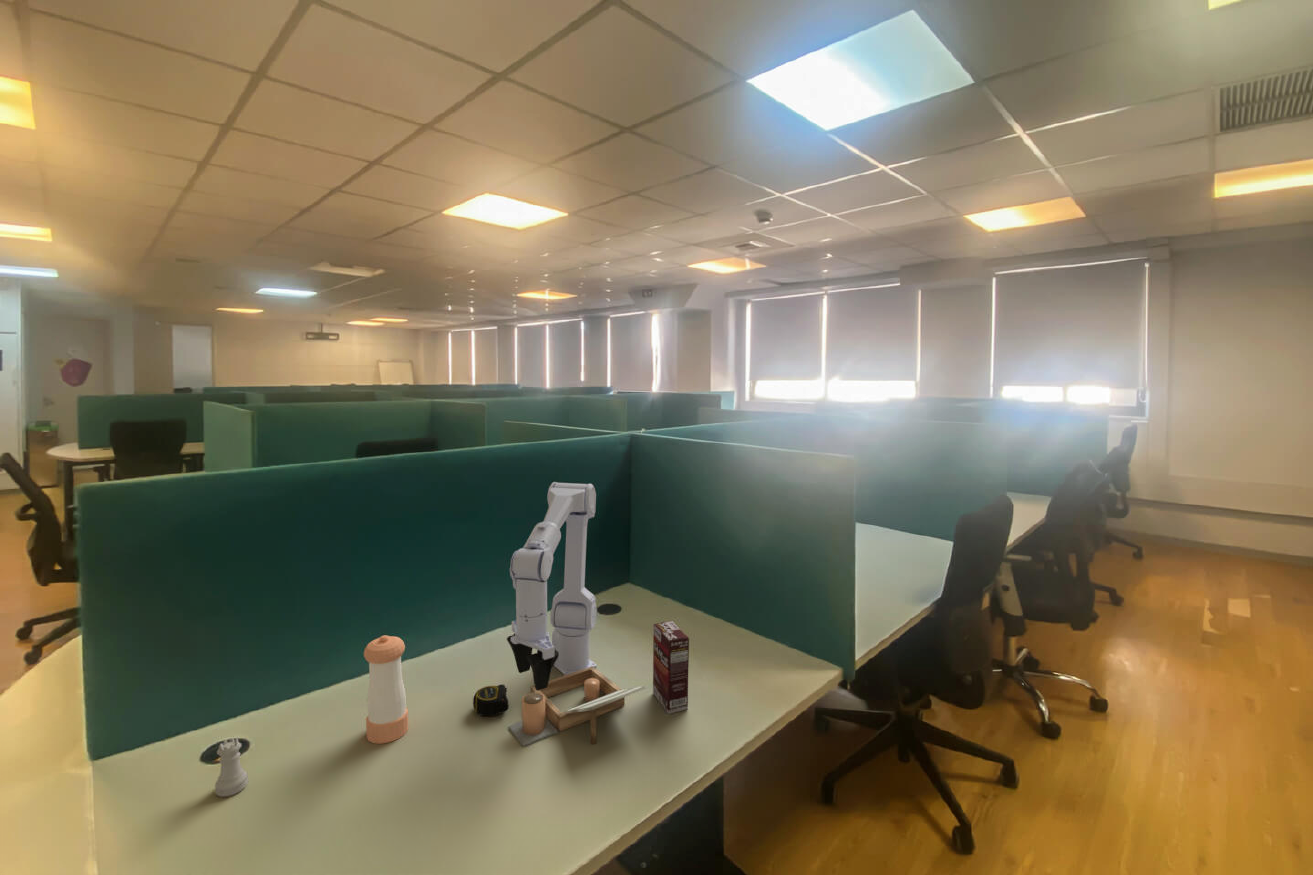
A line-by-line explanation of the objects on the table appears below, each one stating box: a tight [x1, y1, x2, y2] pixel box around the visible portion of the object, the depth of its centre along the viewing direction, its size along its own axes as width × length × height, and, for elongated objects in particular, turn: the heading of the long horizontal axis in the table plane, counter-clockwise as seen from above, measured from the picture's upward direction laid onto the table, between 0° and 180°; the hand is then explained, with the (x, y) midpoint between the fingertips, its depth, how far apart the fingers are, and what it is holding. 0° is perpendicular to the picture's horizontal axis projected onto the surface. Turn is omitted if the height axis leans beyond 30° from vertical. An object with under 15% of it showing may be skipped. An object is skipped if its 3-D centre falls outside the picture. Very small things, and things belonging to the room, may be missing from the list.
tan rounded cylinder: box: [583, 678, 600, 702], centre depth 121 cm, size 3×3×4 cm
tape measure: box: [472, 684, 509, 717], centre depth 117 cm, size 7×7×4 cm
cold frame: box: [530, 666, 646, 745], centre depth 115 cm, size 22×15×9 cm
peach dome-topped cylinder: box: [521, 692, 546, 735], centre depth 110 cm, size 4×4×6 cm
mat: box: [508, 717, 559, 747], centre depth 110 cm, size 7×7×1 cm
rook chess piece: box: [214, 737, 249, 798], centre depth 93 cm, size 4×4×8 cm
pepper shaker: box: [363, 634, 410, 745], centre depth 108 cm, size 7×7×19 cm
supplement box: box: [652, 620, 690, 715], centre depth 119 cm, size 9×5×16 cm, turn 23°
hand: (532, 679), depth 109 cm, fingers open, 7 cm apart
